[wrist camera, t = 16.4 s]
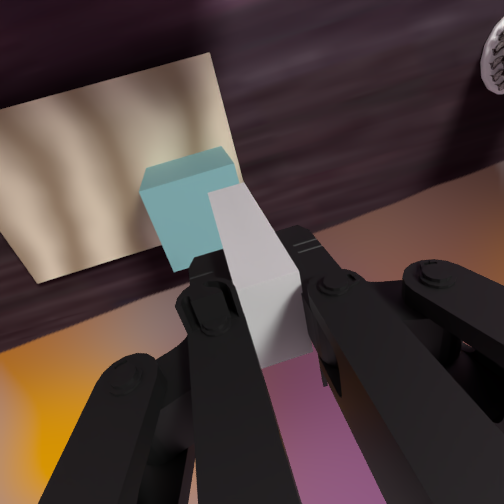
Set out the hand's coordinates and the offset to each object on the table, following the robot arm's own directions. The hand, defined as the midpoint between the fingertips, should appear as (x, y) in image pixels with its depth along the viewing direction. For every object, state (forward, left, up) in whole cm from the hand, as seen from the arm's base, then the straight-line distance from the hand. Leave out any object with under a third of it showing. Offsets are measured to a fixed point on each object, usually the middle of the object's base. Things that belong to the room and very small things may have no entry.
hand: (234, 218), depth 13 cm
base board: (-4, -8, -22) cm, 24 cm away
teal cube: (+3, -4, -21) cm, 21 cm away
